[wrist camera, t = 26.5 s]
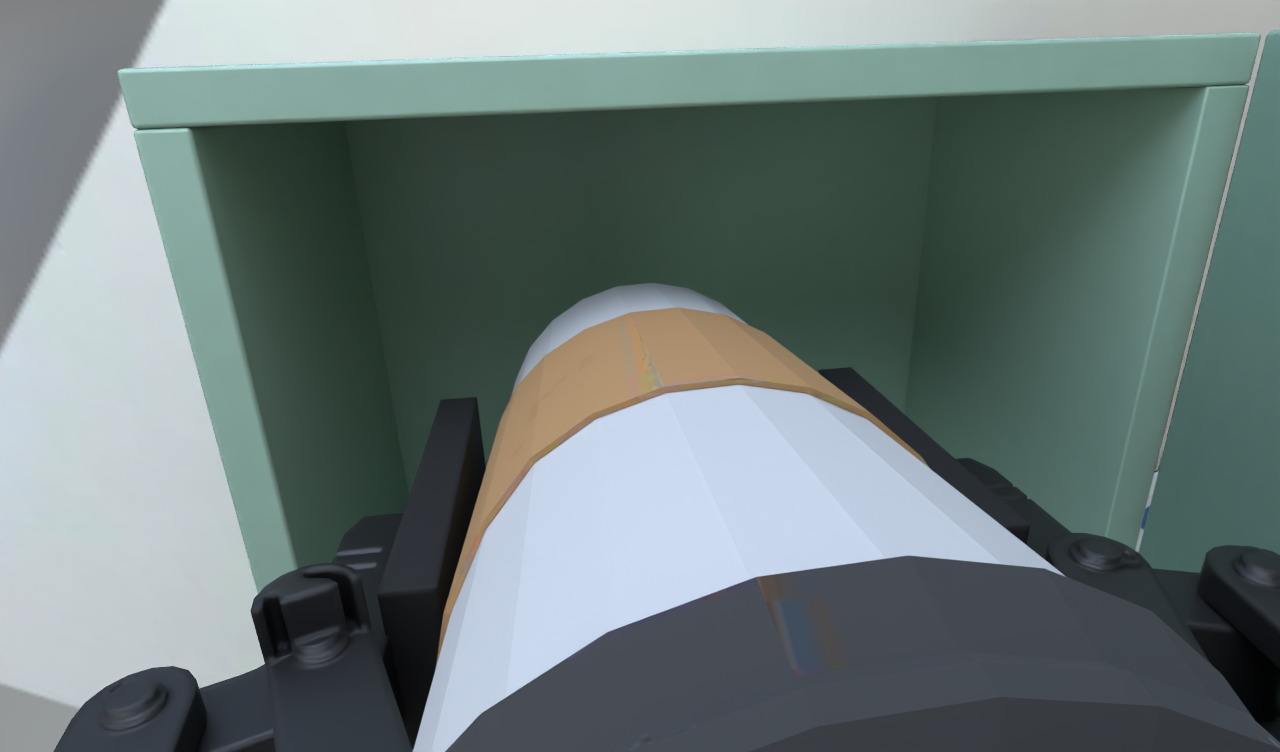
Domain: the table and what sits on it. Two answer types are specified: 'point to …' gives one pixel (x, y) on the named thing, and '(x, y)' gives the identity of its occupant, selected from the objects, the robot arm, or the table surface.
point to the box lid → (1230, 368)
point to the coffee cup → (769, 575)
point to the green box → (692, 243)
